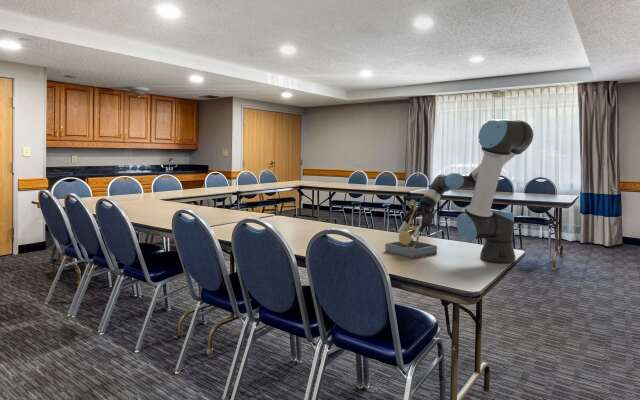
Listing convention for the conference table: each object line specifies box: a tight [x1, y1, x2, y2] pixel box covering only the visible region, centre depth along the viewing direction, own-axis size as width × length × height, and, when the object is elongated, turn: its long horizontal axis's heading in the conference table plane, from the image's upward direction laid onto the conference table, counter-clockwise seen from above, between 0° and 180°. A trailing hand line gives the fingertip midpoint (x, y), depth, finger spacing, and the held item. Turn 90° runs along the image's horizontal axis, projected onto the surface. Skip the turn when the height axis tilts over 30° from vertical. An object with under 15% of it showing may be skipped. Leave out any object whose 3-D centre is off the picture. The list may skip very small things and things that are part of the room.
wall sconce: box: [398, 199, 426, 249], centre depth 208 cm, size 14×10×25 cm
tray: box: [384, 239, 438, 259], centre depth 210 cm, size 17×18×4 cm
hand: (407, 234), depth 207 cm, fingers closed on wall sconce, 9 cm apart
